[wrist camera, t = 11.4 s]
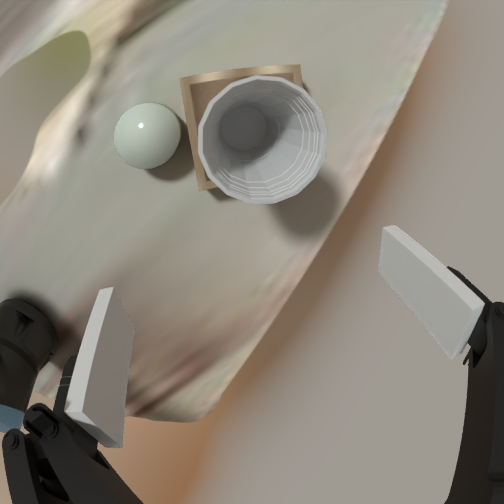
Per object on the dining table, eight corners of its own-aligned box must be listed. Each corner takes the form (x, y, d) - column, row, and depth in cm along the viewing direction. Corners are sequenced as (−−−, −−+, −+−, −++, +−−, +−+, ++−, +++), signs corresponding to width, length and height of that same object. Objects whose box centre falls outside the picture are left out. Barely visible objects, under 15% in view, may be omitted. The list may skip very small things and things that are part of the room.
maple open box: (199, 181, 38) (199, 190, 35) (181, 80, 31) (179, 78, 28) (299, 165, 40) (309, 172, 36) (290, 67, 32) (300, 64, 29)
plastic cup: (307, 118, 33) (354, 131, 22) (254, 186, 36) (277, 227, 26) (235, 64, 28) (253, 47, 18) (180, 139, 31) (169, 159, 21)
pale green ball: (129, 168, 36) (122, 175, 32) (116, 111, 32) (108, 113, 28) (186, 154, 36) (185, 160, 33) (176, 96, 32) (173, 96, 29)
